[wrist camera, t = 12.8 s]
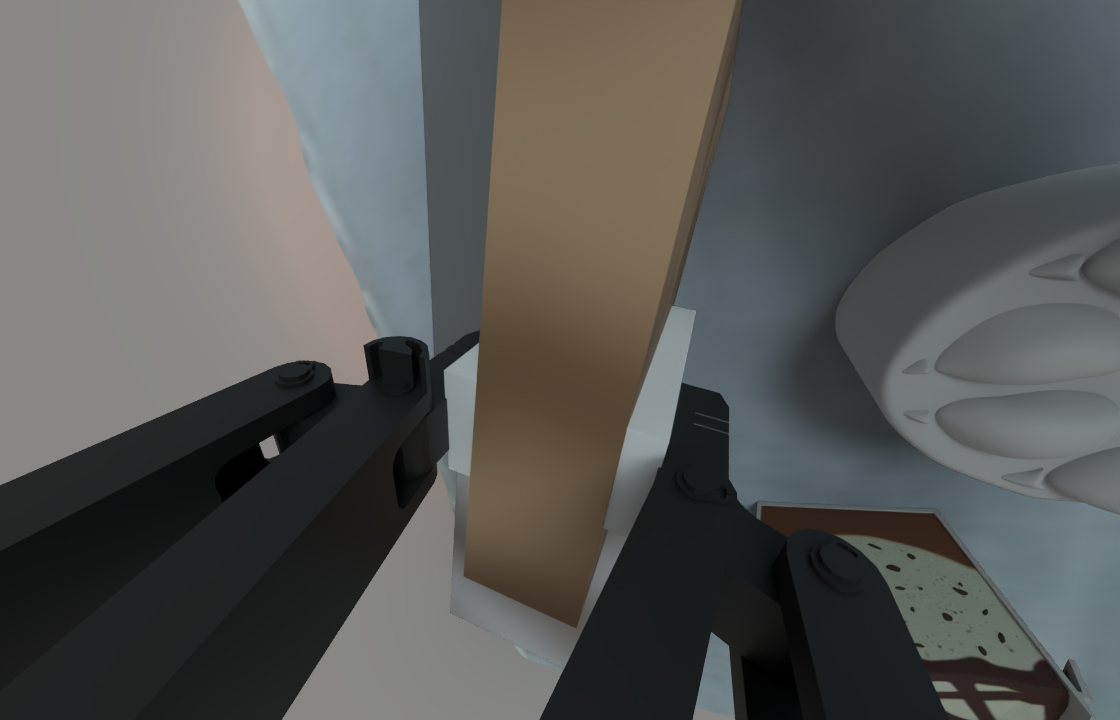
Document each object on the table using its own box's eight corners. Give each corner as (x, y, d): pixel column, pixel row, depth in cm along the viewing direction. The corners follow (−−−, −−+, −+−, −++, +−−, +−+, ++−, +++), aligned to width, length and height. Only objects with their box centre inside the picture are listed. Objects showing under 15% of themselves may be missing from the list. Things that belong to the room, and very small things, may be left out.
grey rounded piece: (1202, 390, 17) (1554, 565, 10) (838, 409, 23) (893, 531, 15) (1287, 122, 13) (1945, 87, 6) (829, 224, 19) (895, 268, 12)
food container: (742, 563, 30) (750, 723, 22) (733, 500, 28) (737, 650, 19) (960, 586, 25) (1082, 808, 16) (971, 510, 22) (1117, 721, 14)
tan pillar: (550, 85, 13) (351, -63, 6) (824, 110, 11) (1035, -69, 4) (498, 537, 21) (390, 705, 14) (650, 601, 19) (612, 837, 12)
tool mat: (416, -216, 17) (409, -225, 17) (730, -246, 14) (730, -258, 14) (438, 373, 32) (435, 376, 32) (593, 423, 29) (591, 427, 28)
